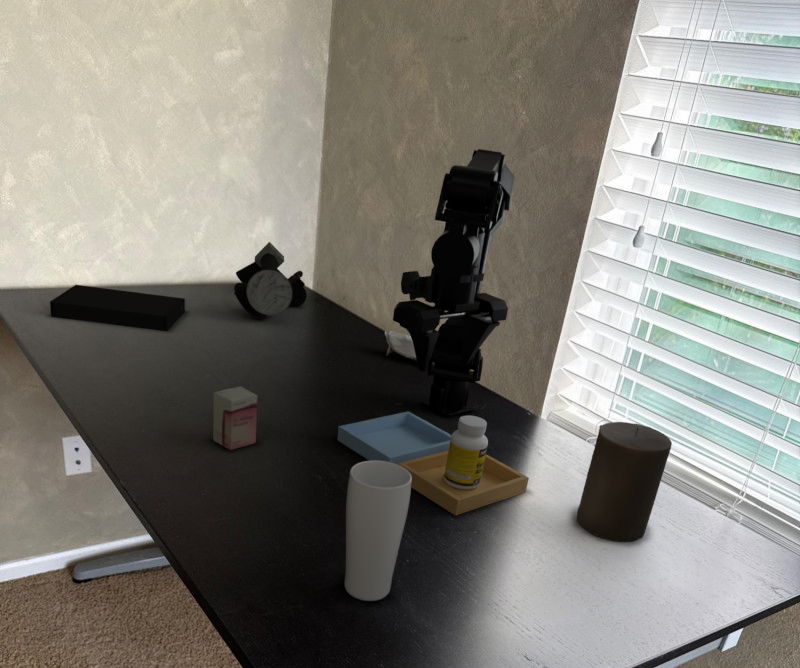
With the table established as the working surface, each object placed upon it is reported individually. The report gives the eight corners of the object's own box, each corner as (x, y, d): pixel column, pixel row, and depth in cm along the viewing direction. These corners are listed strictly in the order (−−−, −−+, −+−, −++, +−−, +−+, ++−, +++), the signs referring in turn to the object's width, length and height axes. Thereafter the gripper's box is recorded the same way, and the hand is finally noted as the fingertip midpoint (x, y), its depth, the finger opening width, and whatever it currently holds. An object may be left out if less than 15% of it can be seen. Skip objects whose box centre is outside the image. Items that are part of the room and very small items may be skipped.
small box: (230, 451, 120) (230, 401, 116) (212, 440, 122) (212, 391, 118) (257, 443, 123) (258, 394, 119) (239, 433, 126) (240, 385, 122)
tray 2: (466, 458, 128) (468, 444, 127) (525, 492, 120) (529, 477, 119) (396, 477, 119) (398, 463, 118) (455, 515, 111) (458, 500, 110)
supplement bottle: (477, 494, 117) (489, 431, 112) (440, 486, 118) (451, 424, 113) (481, 478, 122) (493, 417, 117) (446, 471, 122) (456, 410, 117)
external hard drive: (77, 298, 175) (76, 284, 173) (185, 312, 176) (185, 298, 174) (51, 316, 162) (49, 301, 161) (167, 331, 163) (167, 316, 162)
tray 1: (406, 424, 137) (408, 411, 136) (458, 453, 129) (460, 439, 128) (337, 440, 128) (338, 426, 127) (388, 472, 120) (389, 458, 119)
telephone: (280, 353, 177) (278, 310, 202) (321, 313, 173) (314, 274, 198) (226, 302, 169) (231, 264, 194) (268, 259, 166) (268, 226, 191)
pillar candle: (641, 549, 109) (673, 448, 102) (569, 529, 112) (596, 429, 104) (647, 518, 117) (678, 423, 110) (581, 501, 120) (606, 406, 112)
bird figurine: (382, 365, 165) (429, 364, 162) (380, 330, 163) (428, 329, 160) (391, 363, 169) (436, 362, 166) (389, 330, 168) (435, 328, 164)
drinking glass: (337, 572, 96) (348, 457, 88) (393, 575, 97) (409, 461, 89) (338, 606, 90) (350, 486, 83) (398, 608, 91) (416, 490, 83)
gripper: (466, 246, 127) (451, 343, 135) (374, 252, 116) (363, 357, 124) (518, 264, 121) (499, 365, 128) (426, 272, 109) (411, 382, 117)
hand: (443, 366), depth 125 cm, fingers open, 9 cm apart
